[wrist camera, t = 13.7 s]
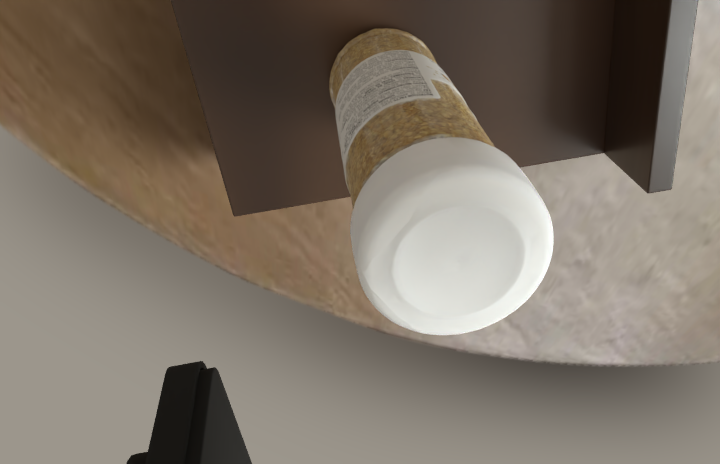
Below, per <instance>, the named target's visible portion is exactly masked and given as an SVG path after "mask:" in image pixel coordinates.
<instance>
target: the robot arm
mask: <svg viewBox="0 0 720 464" xmlns="http://www.w3.org/2000/svg"><path fill="white" fill-rule="evenodd" d="M127 464H252V463H251V460H250V457H249V454H248V451H247V449H246V446H245V443H244V440H243V438H242V435H241V433H240V430H239V427H238V424H237V421H236V419H235V416H234V413H233V410H232V408H231V405H230V402H229V400H228V397H227V394H226V391H225V388H224V386H223V383H222V380H221V377H220V375H219V372H218V370H217V369H216V368H209V369H207V368H206V366H205V364H204V363H203V361H200V362H194V363H188V364H183V365H178V366H172V367H169V368H168V369H167V371H166V374H165V378H164V382H163V387H162V391H161V396H160V400H159V405H158V409H157V414H156V418H155V423H154V427H153V432H152V437H151V441H150V445H149V449H148V452H144V453H139V454H135V455H132V456H131V457H130V458H129V460H128V461H127Z"/></svg>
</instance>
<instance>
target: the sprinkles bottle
mask: <svg viewBox="0 0 720 464" xmlns="http://www.w3.org/2000/svg"><path fill="white" fill-rule="evenodd" d="M329 88H330V96H331V100H332V102H333V105H334V108H335V116H336V123H337V130H338V136H339V143H340V149H341V156H342V161H343V168H344V174H345V180H346V184H347V187H348V190H349V193H350V195H351V199H352V205H353V212H352V217H351V228H350V234H351V242H352V249H353V254H354V259H355V264H356V268H357V272H358V276H359V280H360V283H361V286H362V288H363V290H364V292H365V294H366V296H367V297H368V299H369V300H370V302H371V303H372V304H373V305H374V307H375V308H376V309H377V310H378V311H379V312H380V313H381V314H383V315H384V316H385V317H387V318H388V319H389V320H391V321H392V322H394V323H396V324H398V325H400V326H402V327H404V328H407V329H409V330H412V331H415V332H420V333H425V334H432V335H454V334H462V333H467V332H472V331H475V330H478V329H482V328H484V327H487V326H489V325H491V324H494V323H496V322H497V321H499V320H501V319H503V318H505V317H506V316H508V315H510V314H511V313H512V312H514V311H515V310H517V309H518V308H519V307H520V306H521V305H522V304H523V303H524V302H526V301H527V300H528V299H529V297H530V296H531V295H532V294H533V292H534V291H535V290H536V289H537V287H538V286H539V284H540V283H541V281H542V279H543V277H544V276H545V274H546V271H547V269H548V267H549V264H550V260H551V257H552V252H553V244H554V241H553V237H554V233H553V227H552V221H551V218H550V215H549V212H548V210H547V208H546V206H545V204H544V202H543V200H542V198H541V197H540V195H539V194H538V192H537V191H536V189H535V188H534V186H533V185H532V183H531V182H530V181H529V179H528V178H527V177H526V175H525V174H524V173H523V172H522V170H521V169H520V168H519V167H518V165H517V164H516V163H515V162H514V161H513V160H512V159H511V158H510V157H509V156H508V155H506V154H505V153H504V152H502V151H500V150H499V149H497V148H495V146H494V145H493V143H492V142H491V140H490V139H489V137H488V136H487V135H486V133H485V132H484V130H483V129H482V127H481V126H480V124H479V123H478V121H477V119H476V117H475V115H474V114H473V113H472V112H471V110H470V109H469V108H468V106H467V104H466V102H465V100H464V99H463V97H462V96H461V94H460V93H459V91H458V90H457V89H456V87H455V86H454V85H453V83H452V82H451V80H450V79H449V78H448V76H447V75H446V74H445V72H444V71H443V70H442V69H441V68H440V67H439V66H438V65H437V63H436V61H435V59H434V56H433V55H432V53H431V51H430V50H429V49H428V47H427V46H426V45H425V44H424V43H423V42H422V41H421V40H420V39H418V38H417V37H415V36H413V35H412V34H410V33H408V32H405V31H401V30H398V29H389V28H384V29H372V30H370V31H368V32H366V33H363V34H360V35H358V36H357V37H356V38H354V39H352V40H351V41H349V42H348V43H347V44H346V45H345V47H344V48H343V49H342V50H341V51H340V52H339V53H338V55H337V58H336V60H335V62H334V64H333V67H332V70H331V74H330V80H329Z"/></svg>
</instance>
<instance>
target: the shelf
mask: <svg viewBox="0 0 720 464" xmlns="http://www.w3.org/2000/svg"><path fill="white" fill-rule="evenodd" d="M171 3H172V6H173V9H174V13H175V16H176V20H177V23H178V27H179V30H180V33H181V37H182V40H183V44H184V47H185V51H186V54H187V58H188V61H189V64H190V68H191V71H192V75H193V78H194V82H195V85H196V88H197V92H198V95H199V99H200V102H201V106H202V109H203V112H204V116H205V119H206V123H207V126H208V130H209V133H210V136H211V140H212V143H213V147H214V150H215V154H216V157H217V161H218V164H219V167H220V171H221V174H222V178H223V181H224V185H225V188H226V191H227V195H228V198H229V202H230V205H231V209H232V212H233V215H234V216H241V215H247V214H252V213H258V212H264V211H270V210H276V209H281V208H287V207H293V206H299V205H305V204H310V203H316V202H322V201H328V200H334V199H339V198H345V197H351V195H350V193H349V190H348V187H347V184H346V180H345V174H344V168H343V161H342V156H341V149H340V143H339V136H338V130H337V123H336V116H335V108H334V105H333V102H332V100H331V96H330V88H329V80H330V74H331V70H332V67H333V64H334V62H335V60H336V58H337V55H338V53H339V52H340V51H341V50H342V49H343V48H344V47H345V45H346V44H347V43H348V42H349V41H351V40H352V39H354V38H356V37H357V36H358V35H360V34H363V33H366V32H368V31H370V30H372V29H384V28H389V29H398V30H401V31H405V32H408V33H410V34H412V35H413V36H415V37H417V38H418V39H420V40H421V41H422V42H423V43H424V44H425V45H426V46H427V47H428V49H429V50H430V51H431V53H432V55H433V56H434V59H435V61H436V63H437V65H438V66H439V67H440V68H441V69H442V70H443V71H444V72H445V74H446V75H447V76H448V78H449V79H450V80H451V82H452V83H453V85H454V86H455V87H456V89H457V90H458V91H459V93H460V94H461V96H462V97H463V99H464V100H465V102H466V104H467V106H468V108H469V109H470V110H471V112H472V113H473V114H474V115H475V117H476V119H477V121H478V123H479V124H480V126H481V127H482V129H483V130H484V132H485V133H486V135H487V136H488V137H489V139H490V140H491V142H492V143H493V145H494V146H495V148H497V149H499V150H500V151H502V152H504V153H505V154H506V155H508V156H509V157H510V158H511V159H512V160H513V161H514V162H515V163H516V164H517V165H518V167H525V166H531V165H537V164H542V163H548V162H554V161H560V160H566V159H571V158H577V157H583V156H589V155H595V154H600V153H605V154H606V155H607V156H608V157H609V158H610V159H611V160H612V161H613V162H614V163H615V164H616V165H617V166H619V167H620V168H621V169H622V170H623V171H624V172H625V173H626V174H627V175H628V176H629V177H630V178H632V179H633V180H634V181H635V182H636V183H637V184H638V185H639V186H640V187H641V188H642V189H643V190H644V191H646V192H647V193H654V192H660V191H665V190H671V189H672V182H673V175H674V168H675V161H676V154H677V147H678V140H679V133H680V126H681V118H682V111H683V104H684V97H685V90H686V83H687V76H688V69H689V62H690V55H691V48H692V41H693V33H694V26H695V19H696V12H697V5H698V0H171Z"/></svg>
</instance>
